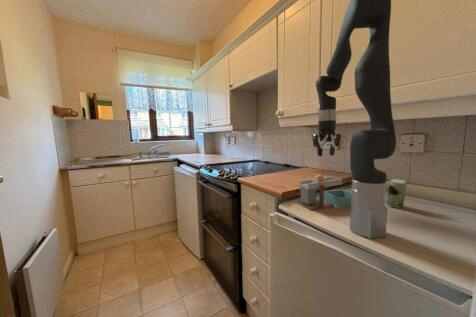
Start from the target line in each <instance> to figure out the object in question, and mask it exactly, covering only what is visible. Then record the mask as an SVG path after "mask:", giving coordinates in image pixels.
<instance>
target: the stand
mask: <svg viewBox="0 0 476 317" xmlns="http://www.w3.org/2000/svg"><path fill="white" fill-rule="evenodd" d="M324 191H325V187H324V185H320V188H319V193H318V194H319V197H316V203H315V204H309V205H308V204H306V203H305V202H303V201H301V199H298V200H297V203H298V204H299V205H301V206H303V207H304V208H306V209H307V210H308V211H313V210H323V209H330V208H335V205H333V204H331V203H329V202H327V201H325V200H324Z"/></svg>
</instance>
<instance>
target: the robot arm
mask: <svg viewBox="0 0 476 317" xmlns="http://www.w3.org/2000/svg"><path fill="white" fill-rule="evenodd" d="M391 10H392V0H350V1H349V3H348V5H347V6H346V10H345V14H344V16H343V19H342V23H341V27H340V30H339V34H338V36H337V40H336V44H335V48H334V51H333V54H332V57H331V58H330V61H329V63H328V64H327V67H326V75H320V76H318V78H317V79H316V83H315V87H316V88H315V89H316V92H317V95H318V96H317V97H318V100H319V110H318V111H319V112H318V127H317V128H318V133H315V134H314V133H313V134H312V145H313V148H317V151H316V152H317V153H316V154H317V156H318V157H323V146H324V144H325V143H328V145H329V156H332V157H333V156H334V155H335V150H336V147H339V146H340V141H341V136H342V135H341V133H336V129H337V128H336V126H337V111H336V109H337V99H336V97H335V96H331V95H328V94H327V93H333V92H337V91H338V90H340V89H341V87H342V82H343V77H344V74H345V71H346V69H347V68H348V66H349V64H350V62H351V59H352V54H353V52H352V46H351V39H350V38H351V36H352V34H353V32H354V30H355V29H368V28H369V31H370V32H369V33H370V35H369V36H370V37H369V43H368V45H367V48H366V49H365V51H364V52H363V54H362V56H361V57H360V59H359V61H358V62H357V65H356V66H355V69H354V89H355V94H356V97H357V98H358V99H359V101H360V103H361V104H362V105H363V107H364V109H365V110H366V112H367V114H368V116H369V121H370V129H367V130H366V129H364V130H358V131H356V132H354V134H353V135H352V137H351V140H350V148H349V153H350V154H349V158H350V160H349V161H350V162H349V164H350V165H349V166H350V172H351V190H350V192H351V206H350V213H349V229H350V231H351V232H353V233H354V234H356V235H358V236H361V237H366V238H368V239H370V240H371V239H377V238H382V237H386V234H387V225H388V224H387V222H388V210H389V208H388V206H386V205H385V204H386V194H387V193H386V192H387V181H388V180H387V173H386V171H385V172H384V171H382V170H379V169H377V168H376V167H375V160H384V159H388V158H390V157H391V156H393V154H394V152H395V151H396V147H397V137H396V136H397V135H396V130H395V125H394V124H395V123H394V119H393V118H394V117H393V111H392V109H393V108H392V95H391V65H390V64H391V63H390V29H391V28H390V26H391V16H392V15H391V14H392V11H391Z"/></svg>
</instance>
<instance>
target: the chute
mask: <svg viewBox="0 0 476 317" xmlns="http://www.w3.org/2000/svg"><path fill="white" fill-rule="evenodd" d="M323 176H324V181H323V182H319V180H317V179H315V177H310V179H305V180H304V179H303V180H300V181H299V187H300V189H299V190H300V200H301V201H303V202H305V203H306V204H308V205H309V204H315V203H316V198H317V189H320V185H324V188H326V187H332V186H340V185H343V179H342V178H337V179H334V177H333V176H325V175H323Z"/></svg>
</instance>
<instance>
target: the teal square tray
mask: <svg viewBox="0 0 476 317" xmlns="http://www.w3.org/2000/svg"><path fill="white" fill-rule="evenodd" d="M324 200H325V201H327V202H329V203H331V204H333V205H334V207H337V208H344V207H351V191H349V190H345V189H342V188H341V189H332V190H331V189H330V190H324Z"/></svg>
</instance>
